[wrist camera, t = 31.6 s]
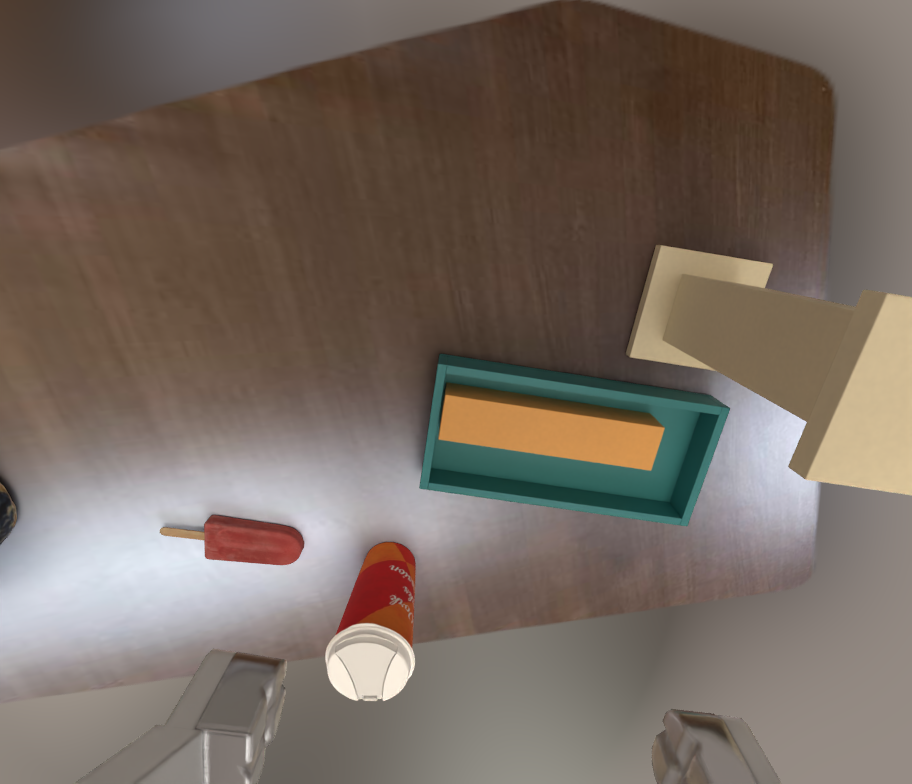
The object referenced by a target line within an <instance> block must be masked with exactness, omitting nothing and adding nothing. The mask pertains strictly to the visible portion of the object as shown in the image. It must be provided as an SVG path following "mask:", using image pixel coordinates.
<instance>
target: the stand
mask: <svg viewBox="0 0 912 784" xmlns="http://www.w3.org/2000/svg"><path fill="white" fill-rule="evenodd" d="M772 266H773V264H770V263H764V262H758V261H752V260H746V259H740V258H734V257H728V256H722V255H716V254H710V253H704V252H698V251H692V250H686V249H680V248H674V247H668V246H662V245H656V247H655V250H654V254H653V257H652V261H651V265H650V268H649V272H648V275H647V279H646V283H645V286H644V290H643V293H642V297H641V301H640V304H639V308H638V311H637V315H636V318H635V322H634V326H633V329H632V333H631V336H630V340H629V344H628V347H627V351H626V355H627V356H629V357H631V358H637V359H644V360H650V361H657V362H663V363H669V364H676V365H682V366H689V367H695V368H701V369H708V370H714V371H718V372H719V373H721V374H723V375H725V376H727V377H728V378H730V379H732V380H734V381H735V382H737V383H739V384H741V385H743V386H744V387H746V388H748V389H750V390H751V391H753V392H755V393H757V394H759V395H760V396H762V397H764V398H766V399H767V400H769V401H771V402H773V403H774V404H776V405H778V406H780V407H782V408H783V409H785V410H787V411H789V412H790V413H792V414H794V415H796V416H798V417H799V418H801V419H803V420H805V421H806V422H807V423H806V426H805V428H804V431H803V433H802V435H801V438H800V440H799V442H798V445H797V447H796V449H795V452H794V454H793V456H792V459H791V461H790V464H789V466H788V467H789V468H790V469H792V470H793V471H795V472H796V473H797V474H799V475H800V476H801V477H803V478H804V479H806V480H812V481H819V482H825V483H832V484H839V485H846V486H853V487H860V488H866V489H873V490H880V491H887V492H893V493H900V494H907V495H912V297H908V296H902V295H896V294H890V293H884V292H878V291H871V290H863V291H862V294H861V297H860V299H859V301H858V303H857V306H856V307H854V306H849V305H844V304H839V303H834V302H830V301H825V300H820V299H815V298H810V297H805V296H800V295H795V294H790V293H785V292H780V291H776V290H771V289H766V288H765V286H766V283H767V280H768V277H769V275H770V272H771V269H772Z"/></svg>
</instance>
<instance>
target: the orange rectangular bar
mask: <svg viewBox="0 0 912 784" xmlns="http://www.w3.org/2000/svg"><path fill="white" fill-rule="evenodd" d="M664 429H665V427H664V426H662V425H661V424H660V423H659V422H658V421H657V420H656V419H655V418H654V417H653V416H652V415H651V414H650V413H644V412H638V411H631V410H625V409H618V408H612V407H605V406H598V405H592V404H585V403H579V402H572V401H566V400H559V399H552V398H546V397H539V396H533V395H526V394H519V393H513V392H506V391H500V390H493V389H487V388H480V387H473V386H467V385H460V384H454V383H446V389H445V395H444V401H443V408H442V414H441V420H440V428H439V438H438V439H439V440H446V441H452V442H459V443H466V444H473V445H480V446H486V447H493V448H500V449H507V450H514V451H520V452H527V453H534V454H541V455H548V456H555V457H561V458H568V459H575V460H582V461H589V462H595V463H602V464H609V465H616V466H623V467H629V468H636V469H643V470H650V471H651V469H652V466H653V463H654V460H655V457H656V454H657V451H658V448H659V445H660V442H661V439H662V435H663V432H664Z"/></svg>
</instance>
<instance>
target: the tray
mask: <svg viewBox="0 0 912 784" xmlns="http://www.w3.org/2000/svg"><path fill="white" fill-rule="evenodd" d="M446 383H454V384H460V385H467V386H473V387H480V388H487V389H493V390H500V391H506V392H513V393H519V394H526V395H533V396H539V397H546V398H552V399H559V400H566V401H572V402H579V403H585V404H592V405H598V406H605V407H612V408H618V409H625V410H631V411H638V412H644V413H650V414H651V415H652V416H653V417H654V418H655V419H656V420H657V421H658V422H659V423H660V424H661V425H662V426H664V427H665V429H664V432H663V435H662V439H661V442H660V445H659V448H658V451H657V454H656V457H655V460H654V463H653V466H652V469H651V471H650V470H643V469H636V468H629V467H623V466H616V465H609V464H602V463H595V462H589V461H582V460H575V459H568V458H561V457H555V456H548V455H541V454H534V453H527V452H520V451H514V450H507V449H500V448H493V447H486V446H480V445H473V444H466V443H459V442H452V441H446V440H439V439H438V438H439V428H440V420H441V414H442V408H443V401H444V395H445V389H446ZM729 410H730V408H729V407H727V406H726V405H724V404H723V403H721V402H720V401H718V400H717V399H715V398H714V397H713V396H711V395H706V394H699V393H693V392H686V391H680V390H673V389H667V388H660V387H654V386H647V385H641V384H634V383H628V382H621V381H615V380H608V379H602V378H595V377H589V376H582V375H576V374H569V373H563V372H556V371H550V370H543V369H537V368H530V367H524V366H517V365H511V364H504V363H498V362H491V361H485V360H478V359H472V358H465V357H459V356H452V355H446V354H439V360H438V367H437V374H436V380H435V387H434V394H433V400H432V407H431V414H430V420H429V427H428V434H427V440H426V447H425V454H424V460H423V467H422V474H421V480H420V487H419V488H420V489H428V490H434V491H441V492H448V493H455V494H462V495H469V496H476V497H483V498H490V499H497V500H504V501H511V502H518V503H525V504H532V505H539V506H546V507H554V508H561V509H568V510H575V511H582V512H589V513H596V514H603V515H610V516H617V517H624V518H631V519H638V520H645V521H652V522H659V523H667V524H674V525H681V526H688V523H689V520H690V517H691V515H692V512H693V509H694V506H695V504H696V501H697V498H698V495H699V493H700V490H701V487H702V484H703V482H704V479H705V476H706V474H707V471H708V468H709V465H710V463H711V460H712V457H713V454H714V452H715V449H716V446H717V443H718V441H719V438H720V435H721V432H722V430H723V427H724V424H725V421H726V419H727V416H728V413H729Z"/></svg>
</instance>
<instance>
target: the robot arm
mask: <svg viewBox="0 0 912 784" xmlns="http://www.w3.org/2000/svg"><path fill="white" fill-rule="evenodd" d="M286 667H287V660H284V659H278V658H272V657H266V656H259V655H253V654H247V653H241V652H233V651H226V650H219V649H212V650H211V651H210V652H209V653H208V654H207V655H206V656H205V658H204V660H203V661H202V663H201V665H200V666H199V668H198V670H197V671H196V673H195V675H194V676H193V678H192V680H191V681H190V683H189V685H188V687H187V688H186V690H185V692H184V693H183V695H182V697H181V698H180V700H179V702H178V704H177V705H176V707H175V708H174V710H173V712H172V713H171V715H170V717H169V718H168V720H167V722H166V723H165V725H155V726H154V727H153V728H151V729H150V730H148V731H147V732H146V733H144V734H143V735H141V736H140V737H138V738H137V739H136V740H134V741H133V742H131V743H130V744H129V745H127V746H126V747H124V748H123V749H122V750H120V751H119V752H117V753H116V754H115V755H113V756H112V757H110V758H109V759H107V760H106V761H105V762H103V763H102V764H100V765H99V766H98V767H96V768H95V769H93V770H92V771H91V772H89V773H88V774H86V775H85V776H84V777H82V778H81V779H79V780H78V781H77V782H75V783H74V784H257V783H258V780H259V777H260V775H261V772H262V770H263V767H264V758H265V748H266V747H267V746H268V745H269V744H270V743H272V742H273V739H274V737H275V734H276V731H277V728H278V725H279V721H280V718H281V714H282V710H283V705H284V699H285V687H284V686H283V685H282V682H283V680H284V677H285V674H286ZM663 723H664V726H665V729H666V730H664V731H663V732H661V733H660V734H658V735H657V736H656V738H655V741H654V744H653V746H652V766H653V771H654V775H655V779H656V782H657V784H782V783H781V781H780V780H779V778H778V776H777V774H776V773H775V771H774V769H773V768H772V766H771V764H770V762H769V761H768V759H767V757H766V755H765V754H764V752H763V750H762V748H761V747H760V745H759V743H758V742H757V740H756V738H755V736H754V735H753V733H752V731H751V729H750V728H749V726H748V724H747V723H746V722H745V721H744V720H743V719H742V718H738V717H730V716H722V715H715V714H711V713H702V712H693V711H684V710H676V709H671V710H669V711H668V712H666V714H665V716H664V719H663Z"/></svg>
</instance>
